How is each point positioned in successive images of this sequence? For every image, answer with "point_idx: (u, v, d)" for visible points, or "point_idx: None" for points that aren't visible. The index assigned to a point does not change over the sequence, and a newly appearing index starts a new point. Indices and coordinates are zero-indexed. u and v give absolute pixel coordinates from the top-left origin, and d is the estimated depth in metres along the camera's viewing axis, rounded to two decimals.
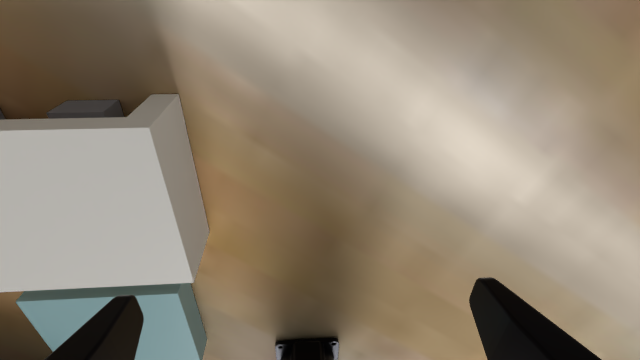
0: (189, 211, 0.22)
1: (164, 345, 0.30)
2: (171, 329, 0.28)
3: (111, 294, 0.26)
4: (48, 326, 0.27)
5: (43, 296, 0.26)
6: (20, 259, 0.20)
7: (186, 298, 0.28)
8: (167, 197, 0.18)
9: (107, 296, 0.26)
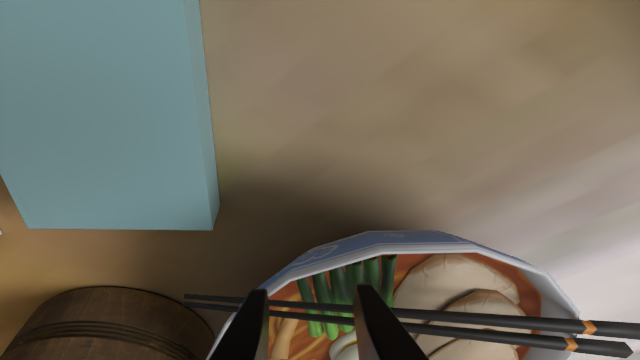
0: None
1: (112, 60, 0.14)
2: (45, 29, 0.14)
3: None
4: (82, 213, 0.18)
5: None
6: None
7: None
8: None
9: None
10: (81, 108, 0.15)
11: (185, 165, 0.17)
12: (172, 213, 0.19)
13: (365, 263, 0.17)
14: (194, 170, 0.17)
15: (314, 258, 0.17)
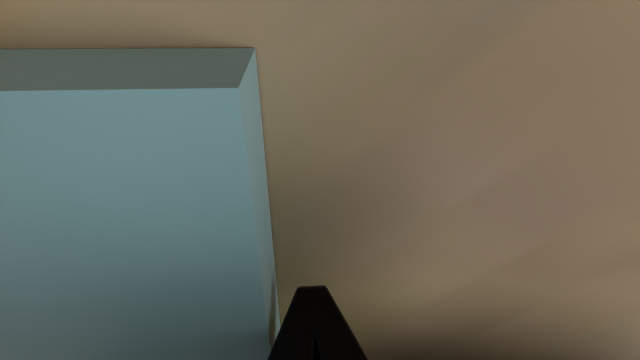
0: None
1: (57, 245, 0.06)
2: None
3: None
4: None
5: None
6: None
7: None
8: None
9: None
10: (4, 332, 0.07)
11: None
12: None
13: None
14: None
15: None
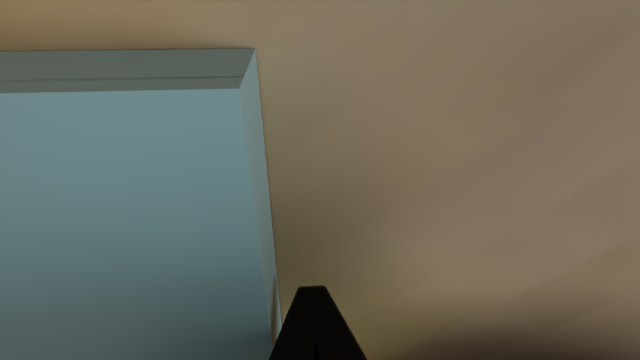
0: None
1: (59, 246, 0.06)
2: None
3: None
4: None
5: None
6: None
7: None
8: None
9: None
10: (7, 333, 0.07)
11: None
12: None
13: None
14: None
15: None
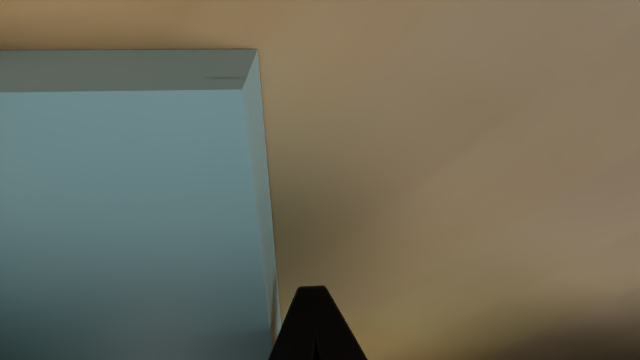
0: None
1: (61, 245, 0.06)
2: None
3: None
4: None
5: None
6: None
7: None
8: None
9: None
10: (8, 331, 0.07)
11: None
12: None
13: None
14: None
15: None
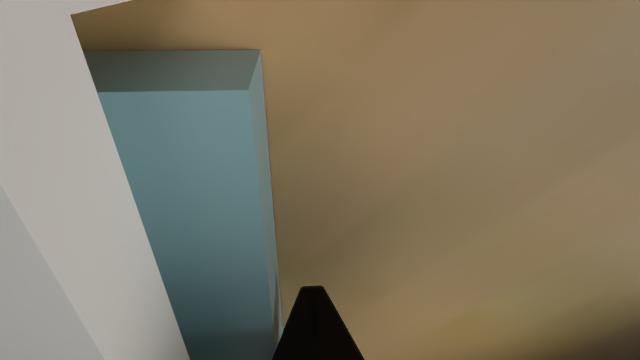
0: None
1: None
2: None
3: None
4: None
5: None
6: None
7: None
8: None
9: None
10: None
11: None
12: None
13: None
14: None
15: None
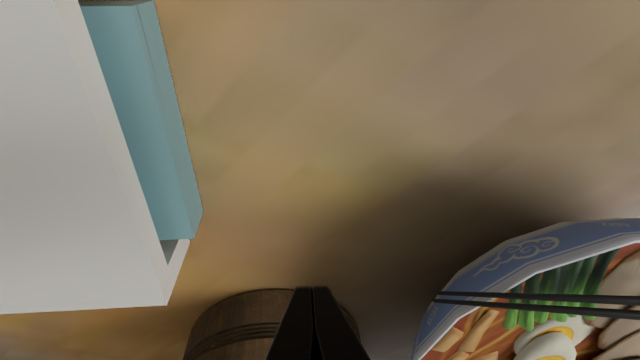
0: None
1: None
2: None
3: None
4: None
5: None
6: (58, 194, 0.14)
7: None
8: None
9: None
10: None
11: (158, 175, 0.17)
12: None
13: None
14: (167, 179, 0.17)
15: (542, 251, 0.17)
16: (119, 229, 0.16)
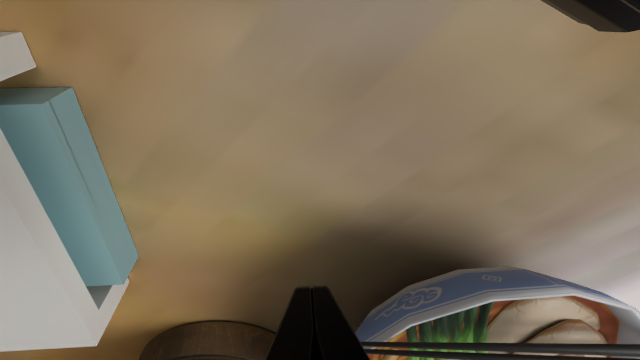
0: None
1: None
2: None
3: None
4: None
5: None
6: None
7: None
8: None
9: None
10: None
11: (83, 234, 0.19)
12: (83, 273, 0.21)
13: None
14: (92, 237, 0.19)
15: (424, 302, 0.19)
16: (43, 286, 0.18)
